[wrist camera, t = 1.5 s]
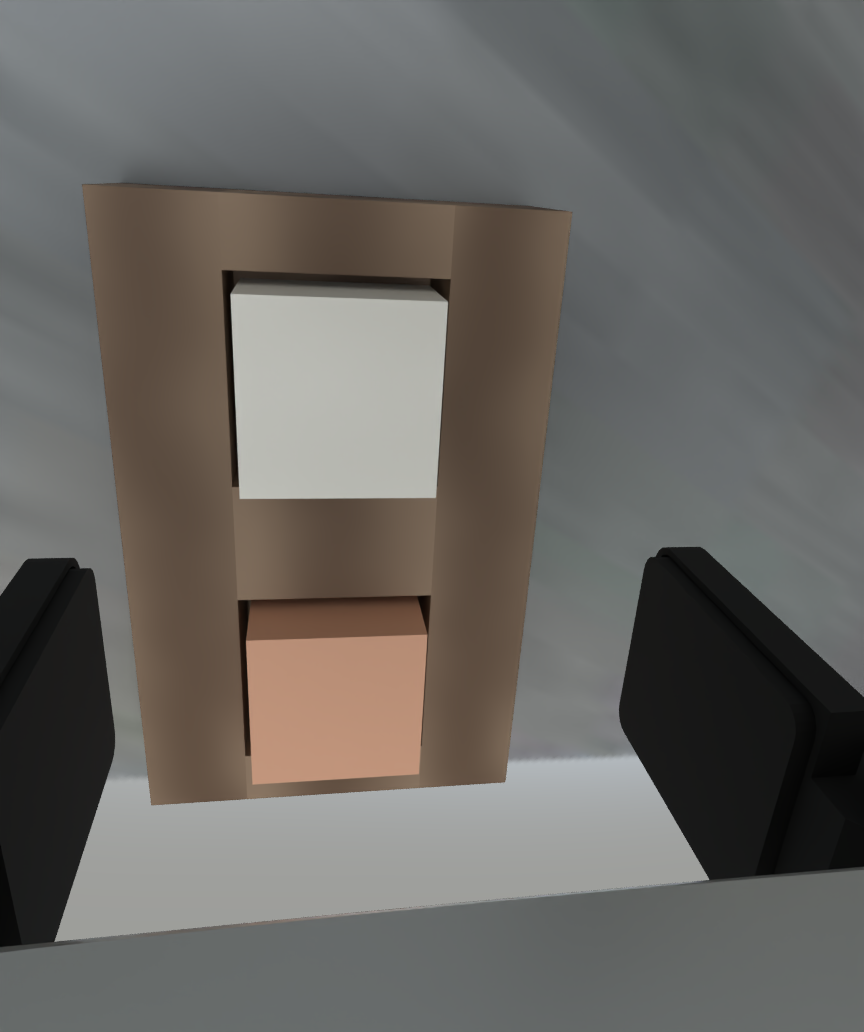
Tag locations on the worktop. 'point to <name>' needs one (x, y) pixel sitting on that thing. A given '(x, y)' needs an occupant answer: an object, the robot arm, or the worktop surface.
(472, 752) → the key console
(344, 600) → the terracotta key
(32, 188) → the worktop surface
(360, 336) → the offwhite key
